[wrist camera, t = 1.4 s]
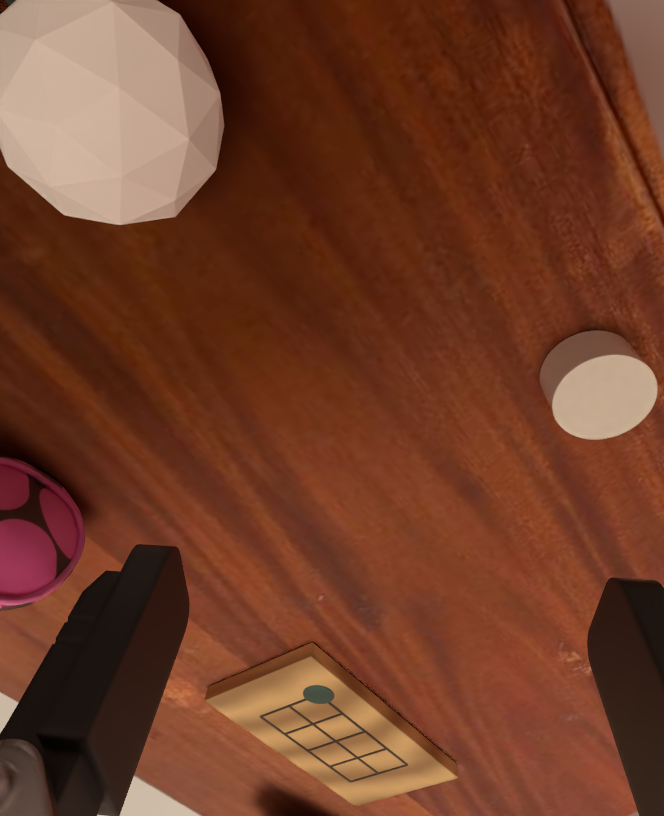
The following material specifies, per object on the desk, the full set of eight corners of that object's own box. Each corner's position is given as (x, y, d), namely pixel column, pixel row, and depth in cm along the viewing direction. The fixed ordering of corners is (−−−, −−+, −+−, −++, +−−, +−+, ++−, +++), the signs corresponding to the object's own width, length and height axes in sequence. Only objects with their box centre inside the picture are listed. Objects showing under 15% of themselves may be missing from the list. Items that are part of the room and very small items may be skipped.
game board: (207, 686, 46) (203, 701, 45) (312, 641, 42) (310, 657, 41) (355, 792, 53) (355, 807, 52) (456, 763, 49) (458, 779, 48)
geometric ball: (264, 185, 25) (217, 239, 18) (95, 207, 26) (-9, 265, 19) (222, -33, 21) (141, -69, 14) (23, 5, 22) (-139, -11, 15)
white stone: (522, 362, 28) (534, 389, 26) (612, 312, 26) (632, 335, 24) (564, 425, 30) (579, 454, 28) (651, 381, 28) (673, 409, 26)
